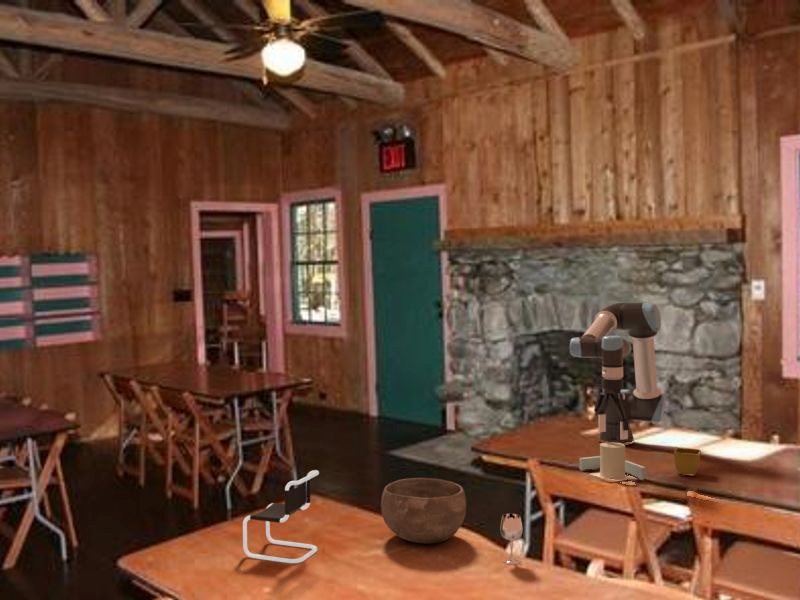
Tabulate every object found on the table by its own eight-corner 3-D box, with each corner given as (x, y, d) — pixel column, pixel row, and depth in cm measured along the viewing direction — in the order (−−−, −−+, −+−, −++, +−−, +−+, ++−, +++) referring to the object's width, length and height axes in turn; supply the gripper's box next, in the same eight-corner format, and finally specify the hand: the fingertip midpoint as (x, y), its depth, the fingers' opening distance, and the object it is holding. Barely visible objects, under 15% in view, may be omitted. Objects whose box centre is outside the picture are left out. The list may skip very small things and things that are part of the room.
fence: (610, 466, 310) (610, 454, 309) (645, 479, 289) (645, 467, 289) (579, 469, 305) (579, 458, 305) (612, 483, 284) (612, 471, 284)
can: (595, 476, 292) (595, 443, 292) (607, 471, 299) (607, 439, 299) (618, 480, 286) (618, 447, 286) (630, 475, 293) (630, 443, 293)
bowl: (439, 560, 210) (439, 503, 210) (364, 544, 223) (363, 491, 223) (480, 534, 231) (479, 483, 230) (408, 521, 244) (408, 472, 243)
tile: (616, 472, 300) (616, 470, 300) (636, 479, 289) (636, 478, 289) (589, 475, 296) (589, 473, 296) (608, 483, 285) (608, 481, 285)
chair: (299, 565, 208) (298, 481, 207) (242, 557, 214) (241, 476, 213) (322, 549, 220) (321, 470, 219) (267, 541, 226) (266, 465, 225)
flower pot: (701, 473, 298) (701, 449, 298) (699, 478, 290) (699, 454, 290) (676, 470, 302) (676, 447, 301) (673, 476, 294) (673, 452, 293)
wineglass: (498, 557, 211) (498, 513, 211) (519, 557, 212) (519, 512, 211) (503, 565, 206) (502, 520, 205) (525, 565, 206) (524, 519, 206)
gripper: (584, 374, 302) (585, 429, 303) (624, 383, 278) (624, 443, 279) (601, 373, 304) (601, 427, 305) (642, 381, 281) (642, 441, 282)
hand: (612, 435), depth 292 cm, fingers open, 13 cm apart
